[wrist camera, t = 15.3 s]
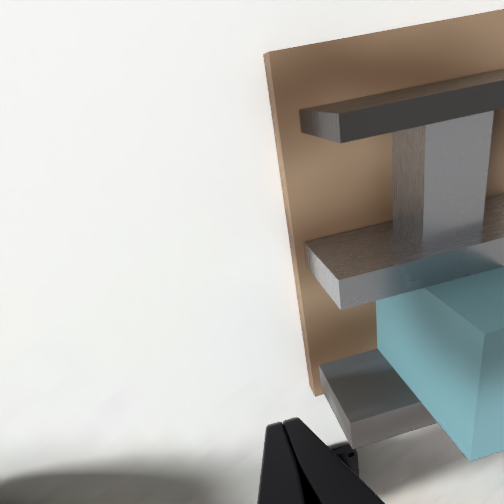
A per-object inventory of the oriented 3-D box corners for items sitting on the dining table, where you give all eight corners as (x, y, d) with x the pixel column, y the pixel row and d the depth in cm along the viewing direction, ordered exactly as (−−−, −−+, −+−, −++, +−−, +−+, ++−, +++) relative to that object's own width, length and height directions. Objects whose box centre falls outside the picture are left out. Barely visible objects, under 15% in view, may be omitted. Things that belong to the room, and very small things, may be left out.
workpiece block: (434, 332, 24) (549, 435, 16) (377, 348, 23) (469, 461, 16) (439, 233, 21) (581, 305, 14) (374, 249, 20) (484, 333, 13)
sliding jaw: (504, 217, 21) (581, 245, 17) (307, 267, 20) (340, 310, 16) (523, 64, 18) (624, 55, 14) (288, 111, 16) (324, 116, 13)
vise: (482, 335, 26) (555, 391, 21) (309, 385, 25) (344, 458, 20) (520, 7, 18) (655, -28, 13) (263, 54, 16) (302, 35, 11)
